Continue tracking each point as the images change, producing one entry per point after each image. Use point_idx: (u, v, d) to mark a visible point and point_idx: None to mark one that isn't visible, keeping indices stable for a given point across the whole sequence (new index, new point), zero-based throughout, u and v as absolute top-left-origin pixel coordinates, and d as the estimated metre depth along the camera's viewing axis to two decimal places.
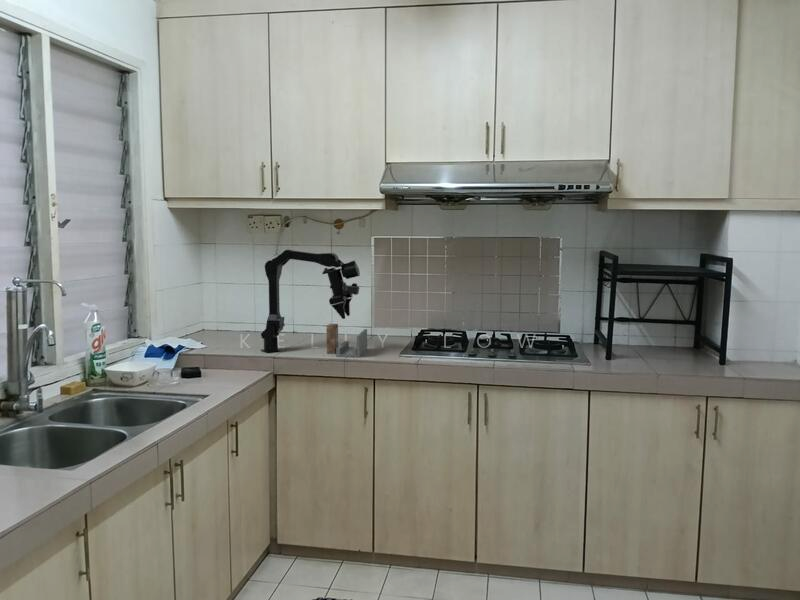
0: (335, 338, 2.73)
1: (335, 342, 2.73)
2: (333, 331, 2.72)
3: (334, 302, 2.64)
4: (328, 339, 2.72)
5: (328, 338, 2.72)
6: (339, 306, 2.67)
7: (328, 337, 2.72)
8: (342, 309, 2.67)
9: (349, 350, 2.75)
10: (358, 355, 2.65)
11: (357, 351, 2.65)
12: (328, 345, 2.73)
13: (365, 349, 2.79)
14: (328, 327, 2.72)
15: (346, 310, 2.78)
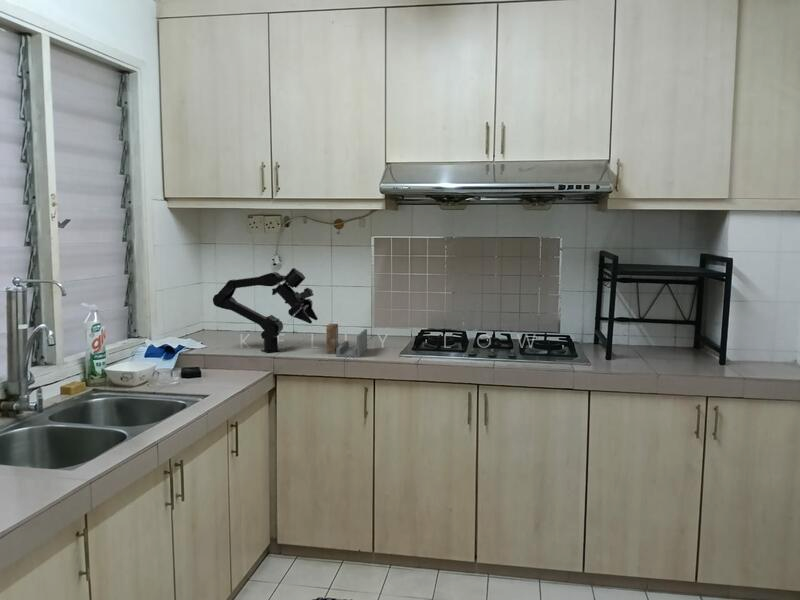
0: (335, 338, 2.73)
1: (335, 342, 2.73)
2: (333, 331, 2.72)
3: (293, 312, 2.66)
4: (328, 339, 2.72)
5: (328, 338, 2.72)
6: (301, 314, 2.70)
7: (328, 337, 2.72)
8: (305, 315, 2.69)
9: (349, 350, 2.75)
10: (358, 355, 2.65)
11: (357, 351, 2.65)
12: (328, 345, 2.73)
13: (365, 349, 2.79)
14: (328, 327, 2.72)
15: (312, 316, 2.80)
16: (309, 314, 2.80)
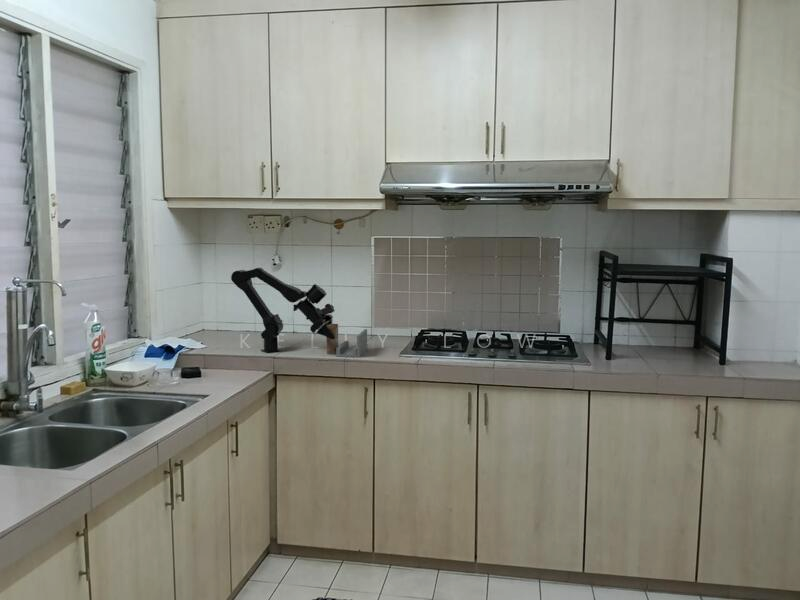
0: (335, 338, 2.73)
1: (335, 342, 2.73)
2: (333, 331, 2.72)
3: (315, 329, 2.66)
4: (328, 339, 2.72)
5: (328, 338, 2.72)
6: (323, 329, 2.71)
7: None
8: (327, 331, 2.70)
9: (349, 350, 2.75)
10: (358, 355, 2.65)
11: (357, 351, 2.65)
12: (328, 345, 2.73)
13: (365, 349, 2.79)
14: (328, 327, 2.72)
15: None
16: None
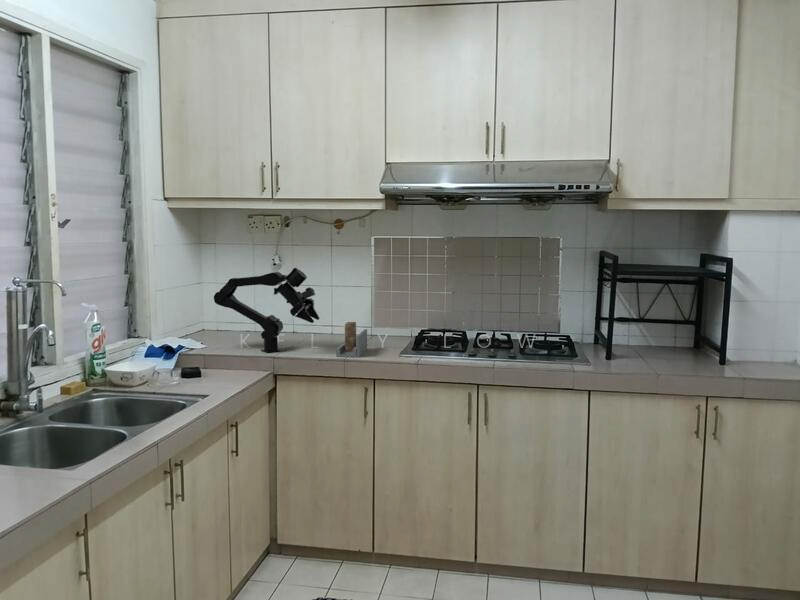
0: (353, 336, 2.72)
1: (353, 340, 2.72)
2: (352, 329, 2.70)
3: (295, 311, 2.66)
4: (347, 337, 2.71)
5: (346, 336, 2.71)
6: (302, 313, 2.70)
7: (346, 335, 2.71)
8: (306, 314, 2.69)
9: None
10: (358, 355, 2.65)
11: (357, 351, 2.65)
12: (346, 343, 2.71)
13: (365, 349, 2.79)
14: (346, 325, 2.71)
15: (314, 315, 2.80)
16: (311, 314, 2.80)
